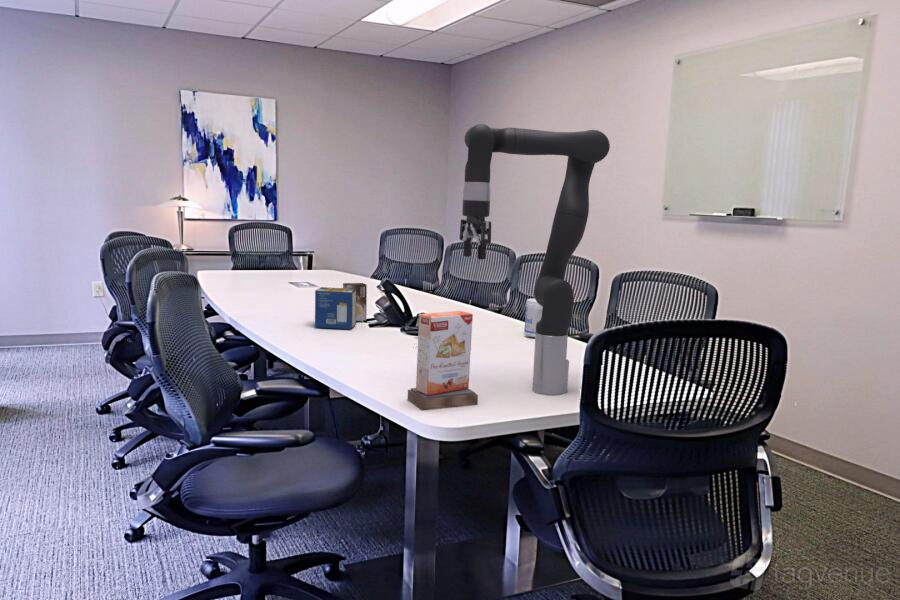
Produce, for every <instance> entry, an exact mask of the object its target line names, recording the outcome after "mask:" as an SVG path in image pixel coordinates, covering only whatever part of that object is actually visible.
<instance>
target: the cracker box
mask: <svg viewBox="0 0 900 600" xmlns="http://www.w3.org/2000/svg"><path fill="white" fill-rule="evenodd" d="M473 316H474V314H473V313H471V312H468V311H463V310H455V311H452V310H451V311H440V312H430V313H429V312H427V313H418V336H417V344H418V347H417V353H416V356H417V358H416V359H417V360H416V376H415V377H416V380H415V382H416V383H415V388H416V391H419V392H421V393H423V394H426V395H434V394H439V393H445V392H451V391H457V390H463V389H470V387H469V386H470V385H469V384H470V383H469V382H470V372H471V371H470V369H471V354H472V353H471V350H472V333H473V319H474V318H473Z"/></svg>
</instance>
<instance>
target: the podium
mask: <svg viewBox="0 0 900 600" xmlns="http://www.w3.org/2000/svg"><path fill="white" fill-rule="evenodd" d="M478 399H479V395H478V393H476V392H475V391H474V390H472V389H470V388H468V389H463V390H457V391H451V392H445V393H439V394H434V395H426V394H423V393H421V392H419V391H416V387H412V388H411V387H410V389H407V401H408V402H410V403H411V404H412V405H413V406H415V407H416V408H418V410H421V411H430V410H431V411H432V410H438V409H439V410H441V409H450V408H459V407H469V406H478V403H479V402H478V401H479V400H478Z"/></svg>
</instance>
